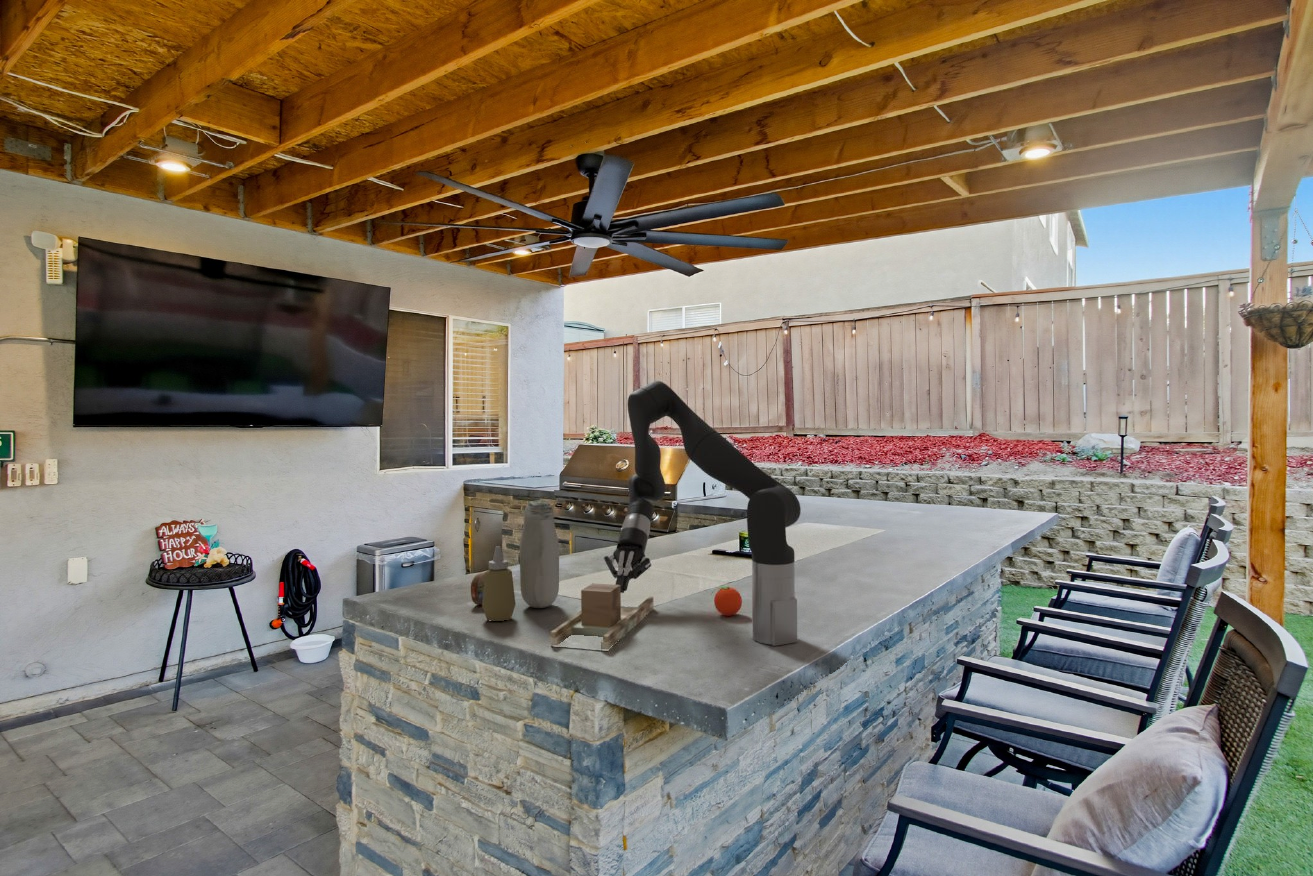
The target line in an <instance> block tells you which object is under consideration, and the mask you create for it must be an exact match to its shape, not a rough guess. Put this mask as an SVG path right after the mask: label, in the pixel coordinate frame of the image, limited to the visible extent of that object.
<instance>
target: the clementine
mask: <svg viewBox="0 0 1313 876" xmlns="http://www.w3.org/2000/svg"><path fill="white" fill-rule="evenodd" d="M715 590H718V591H717V592H716V593H715V596H714V599H713V602H714V603H713V604H714V607H715V609H716V610H717V612H718V613H719V614H721V615H723V616H727V617H729V616H734V615H736V614H738V613H739V611H740V610H741V609H742V605H743V599H742V596H741V593H740V592H739V591H738V590H737V589H736V588H734V587H730V586H721V587H717V588H715V589H714V591H715ZM714 591H712V592H711V595H710V596H712V594H713V593H714Z"/></svg>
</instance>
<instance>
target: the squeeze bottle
mask: <svg viewBox="0 0 1313 876" xmlns="http://www.w3.org/2000/svg"><path fill="white" fill-rule="evenodd" d="M484 572H485V571H484ZM514 588H515V587H514V578H513V571H512V569H510V568H509V560H507V559H504V556H503V551H502V547H501V546H500V545H496V546H495V549H494V553H493V558H492V560H489V561H488V570H486V572H485V578H484V590H483V602H482V605H481V607H482V609H483V613H484V616H485V618H486V620H487V621H488V620H491V621H503V622H505V621H504V620H507V621H509V619H510V620H511V619H512V616H513V613H514V610H515V607H516V604H517V603H516V596H515V589H514Z"/></svg>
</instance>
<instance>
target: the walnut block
mask: <svg viewBox="0 0 1313 876" xmlns="http://www.w3.org/2000/svg"><path fill="white" fill-rule="evenodd" d="M621 594H622V593H621V589H620V585H615V584H613V583H612V584H611V583H610V584H609V583H591V584H589V585H587V586H586V587H584V588H583V589H581V590H580V596H581V597H580V598H581V599H580V604H581V605H580V608H581V610H580V611H581V620H582V625H584V626H596V627H609V628H611V627H612V626H613V625H614V624H615V623H617V622H618V621H619V620H620V619H621V606H622V605H621V603H622V600H621V597H622V596H621Z"/></svg>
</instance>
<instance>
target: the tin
mask: <svg viewBox="0 0 1313 876" xmlns="http://www.w3.org/2000/svg"><path fill="white" fill-rule="evenodd" d="M486 571H487V570H486ZM486 571H482V572H480V573H479V574H476V575H475V576H474V577H473V578H472V580H471V582H470V595H471V600H472V602H473V604H475V605H477V606H482V602H483V590H484V578H485V572H486Z"/></svg>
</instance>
